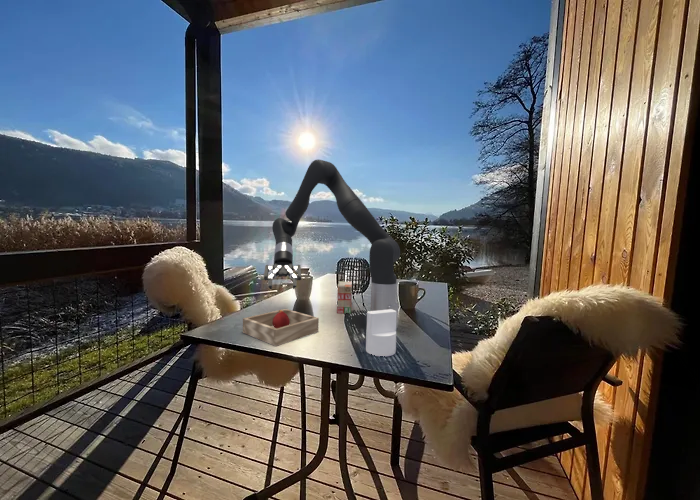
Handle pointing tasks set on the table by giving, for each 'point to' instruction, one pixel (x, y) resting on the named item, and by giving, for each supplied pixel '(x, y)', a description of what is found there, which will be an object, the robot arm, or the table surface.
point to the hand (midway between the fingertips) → (282, 288)
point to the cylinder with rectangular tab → (381, 332)
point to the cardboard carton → (344, 297)
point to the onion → (280, 320)
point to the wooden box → (277, 336)
